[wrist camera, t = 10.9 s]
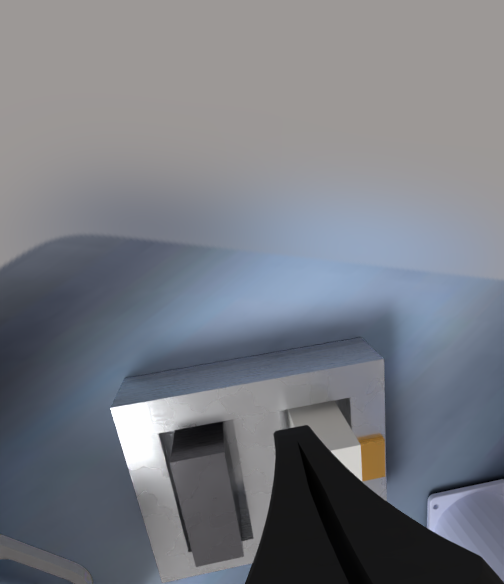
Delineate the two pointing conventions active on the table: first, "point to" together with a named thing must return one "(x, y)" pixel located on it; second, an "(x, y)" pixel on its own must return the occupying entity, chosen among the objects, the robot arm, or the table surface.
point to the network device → (43, 561)
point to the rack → (235, 444)
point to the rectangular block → (329, 432)
